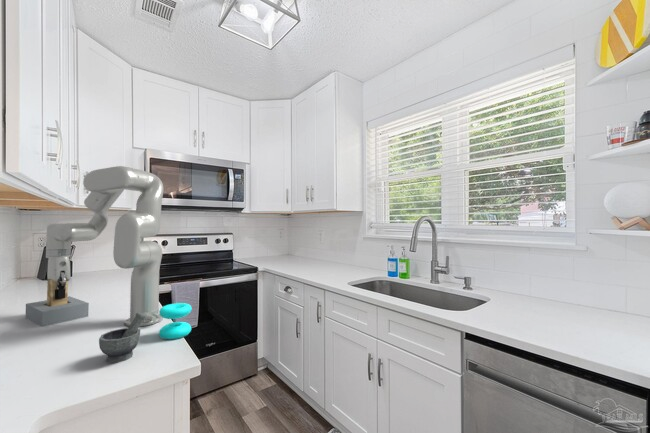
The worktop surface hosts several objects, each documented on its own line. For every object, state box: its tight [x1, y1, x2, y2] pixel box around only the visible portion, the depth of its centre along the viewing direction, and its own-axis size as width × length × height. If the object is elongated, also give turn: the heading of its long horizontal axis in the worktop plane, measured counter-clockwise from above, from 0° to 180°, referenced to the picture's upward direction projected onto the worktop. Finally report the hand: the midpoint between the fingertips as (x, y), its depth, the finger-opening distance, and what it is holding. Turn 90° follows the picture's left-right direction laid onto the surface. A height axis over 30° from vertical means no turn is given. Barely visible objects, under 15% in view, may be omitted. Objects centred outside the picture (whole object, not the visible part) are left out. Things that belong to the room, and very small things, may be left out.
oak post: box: [46, 278, 69, 307], centre depth 119 cm, size 5×5×12 cm
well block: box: [25, 295, 90, 328], centre depth 119 cm, size 20×14×6 cm
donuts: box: [158, 302, 192, 340], centre depth 101 cm, size 10×10×10 cm
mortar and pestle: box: [98, 313, 146, 364], centre depth 84 cm, size 11×9×12 cm
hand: (57, 297), depth 119 cm, fingers closed on oak post, 5 cm apart
